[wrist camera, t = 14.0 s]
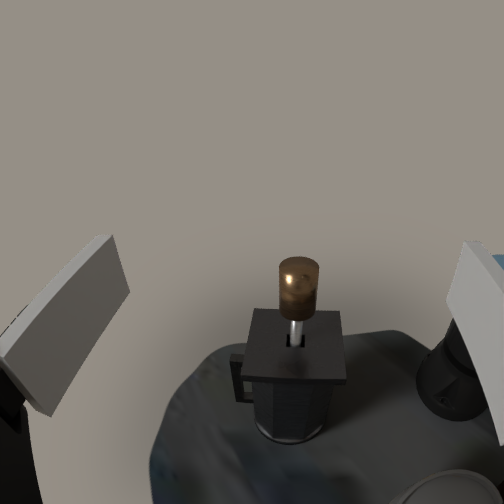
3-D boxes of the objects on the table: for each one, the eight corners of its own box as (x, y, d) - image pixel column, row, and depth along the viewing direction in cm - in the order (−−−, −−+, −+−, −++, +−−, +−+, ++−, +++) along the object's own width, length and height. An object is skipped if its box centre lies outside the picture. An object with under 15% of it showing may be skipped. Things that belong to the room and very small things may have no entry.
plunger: (317, 381, 42) (335, 248, 31) (317, 424, 35) (342, 291, 25) (267, 379, 43) (263, 246, 32) (261, 421, 36) (254, 289, 26)
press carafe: (325, 387, 44) (339, 310, 37) (325, 445, 36) (346, 378, 28) (244, 383, 46) (235, 307, 38) (232, 440, 37) (217, 372, 29)
